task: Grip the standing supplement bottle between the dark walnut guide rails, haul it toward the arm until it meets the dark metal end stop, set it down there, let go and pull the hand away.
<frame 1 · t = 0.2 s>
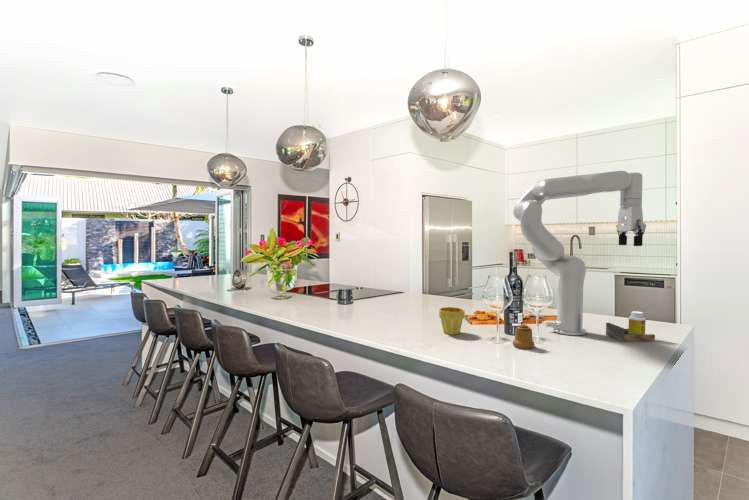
hand: (630, 245, 169), 36 cm above the countertop, tool pointing down, fingers open, 9 cm apart
ornamental finial: (523, 347, 150), on the countertop
guide track: (630, 338, 162), on the countertop
plant pot: (451, 333, 171), on the countertop
supplement bottle: (636, 338, 162), on the countertop
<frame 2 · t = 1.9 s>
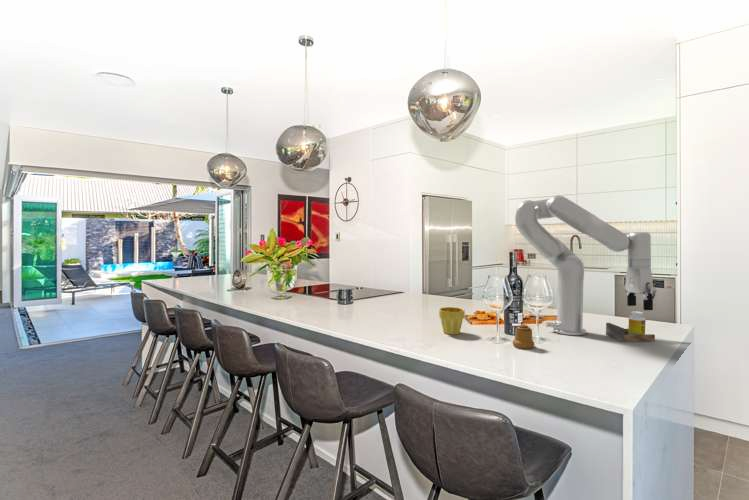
hand: (639, 307, 161), 12 cm above the countertop, tool pointing down, fingers open, 9 cm apart
nothing on the countertop moved.
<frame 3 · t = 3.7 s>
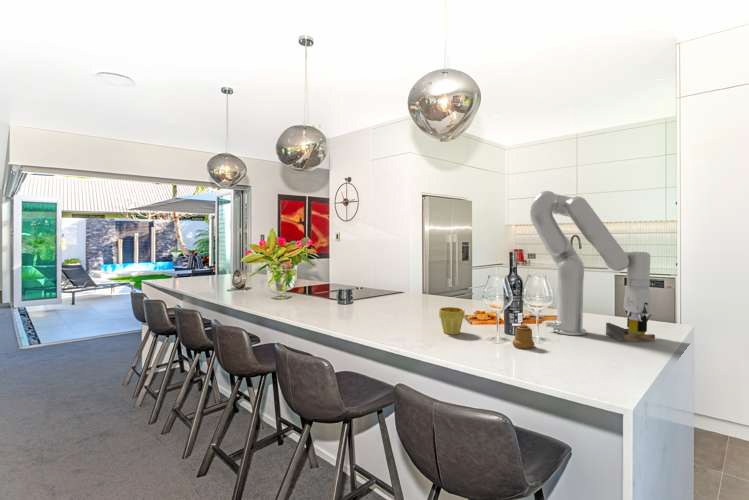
hand: (636, 329, 161), 4 cm above the countertop, tool pointing down, fingers closed on supplement bottle, 5 cm apart
supplement bottle: (636, 338, 162), on the countertop, touching gripper
everything else where it was.
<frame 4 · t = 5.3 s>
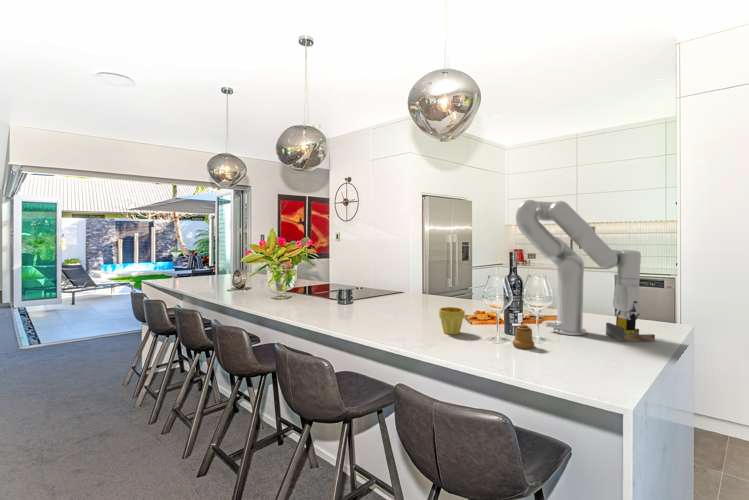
hand: (625, 327, 162), 4 cm above the countertop, tool pointing down, fingers closed on supplement bottle, 5 cm apart
supplement bottle: (625, 336, 162), on the countertop, touching gripper
everything else where it was.
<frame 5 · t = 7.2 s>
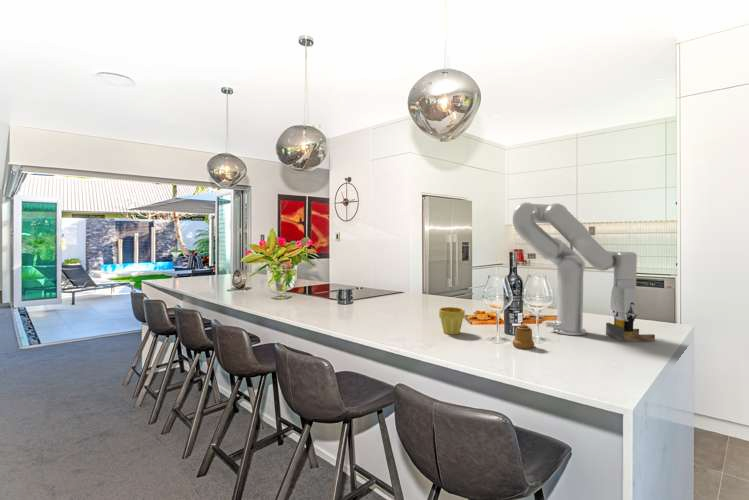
hand: (623, 329, 161), 4 cm above the countertop, tool pointing down, fingers closed on supplement bottle, 5 cm apart
supplement bottle: (623, 338, 162), on the countertop, touching gripper
everything else where it was.
when the fingers open (4 cm above the countertop, at t = 7.2 s): supplement bottle stays where it is, on the countertop.
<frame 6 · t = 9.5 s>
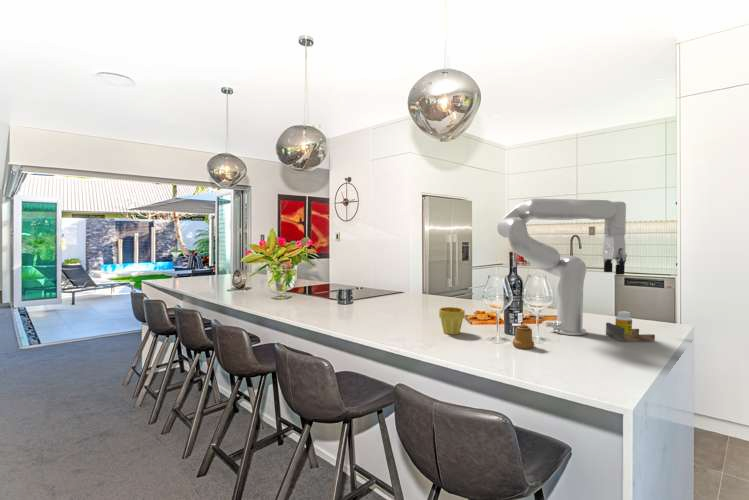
hand: (613, 273, 171), 24 cm above the countertop, tool pointing down, fingers open, 9 cm apart
supplement bottle: (623, 338, 162), on the countertop
everything else where it was.
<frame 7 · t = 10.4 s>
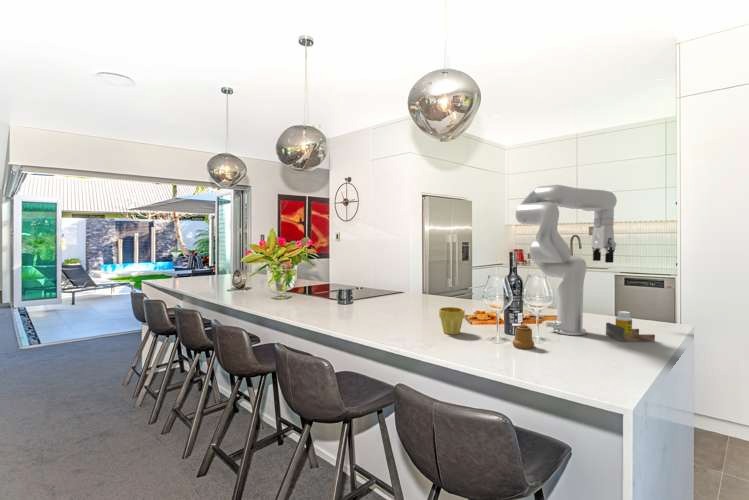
hand: (602, 261, 182), 28 cm above the countertop, tool pointing down, fingers open, 9 cm apart
nothing on the countertop moved.
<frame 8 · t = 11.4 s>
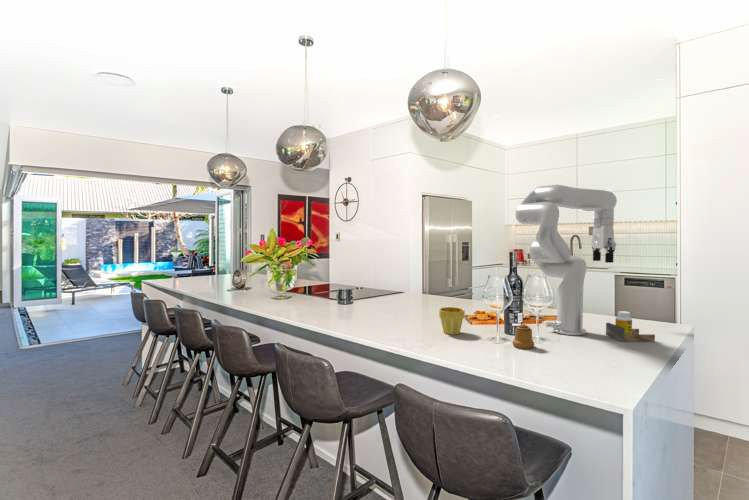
hand: (602, 261, 182), 28 cm above the countertop, tool pointing down, fingers open, 9 cm apart
nothing on the countertop moved.
at the end: supplement bottle 0.2 cm from the target spot on the guide track, point 0.0 cm above the guide track's base; supplement bottle tilted 0°; the gripper is holding nothing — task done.
